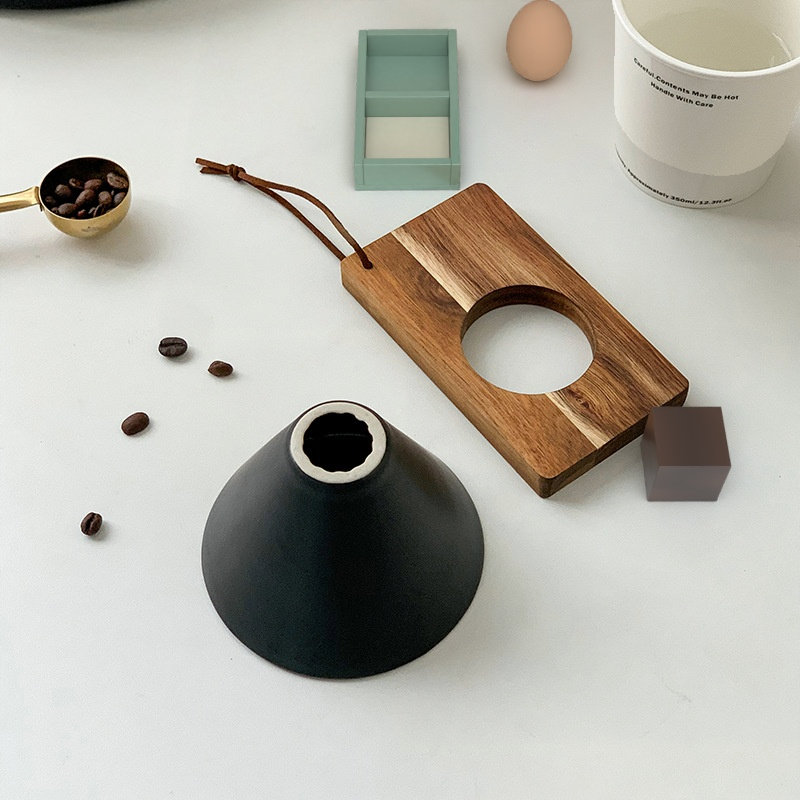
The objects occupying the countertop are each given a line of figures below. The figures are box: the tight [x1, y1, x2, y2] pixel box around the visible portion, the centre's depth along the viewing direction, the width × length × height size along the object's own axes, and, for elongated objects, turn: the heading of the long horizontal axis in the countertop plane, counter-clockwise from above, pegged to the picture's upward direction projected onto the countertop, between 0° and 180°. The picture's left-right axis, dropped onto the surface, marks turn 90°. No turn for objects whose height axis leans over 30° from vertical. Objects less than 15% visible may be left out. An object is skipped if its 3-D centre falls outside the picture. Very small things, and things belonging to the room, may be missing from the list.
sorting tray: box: [353, 28, 462, 191], centre depth 107 cm, size 9×17×3 cm, turn 0°
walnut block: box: [640, 406, 732, 502], centre depth 86 cm, size 5×5×5 cm
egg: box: [505, 0, 573, 82], centre depth 108 cm, size 6×6×8 cm
